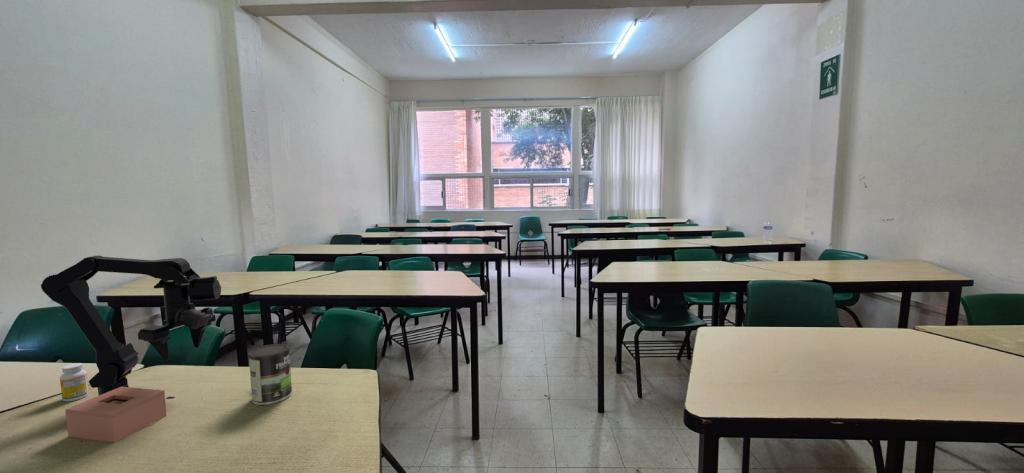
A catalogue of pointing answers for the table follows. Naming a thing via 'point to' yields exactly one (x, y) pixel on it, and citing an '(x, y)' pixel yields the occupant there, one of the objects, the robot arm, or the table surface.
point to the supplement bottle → (74, 382)
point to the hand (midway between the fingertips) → (181, 353)
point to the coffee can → (270, 373)
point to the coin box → (115, 414)
